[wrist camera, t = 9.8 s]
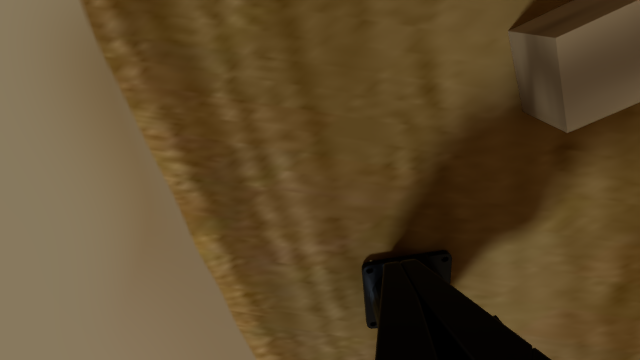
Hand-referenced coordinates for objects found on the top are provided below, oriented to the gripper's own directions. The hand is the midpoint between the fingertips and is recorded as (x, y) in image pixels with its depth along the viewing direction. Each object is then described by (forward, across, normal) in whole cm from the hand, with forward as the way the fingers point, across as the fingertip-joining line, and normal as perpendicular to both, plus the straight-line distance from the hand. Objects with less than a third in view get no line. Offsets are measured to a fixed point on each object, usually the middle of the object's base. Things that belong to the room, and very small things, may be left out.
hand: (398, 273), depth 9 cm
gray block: (+13, -13, -2) cm, 19 cm away
